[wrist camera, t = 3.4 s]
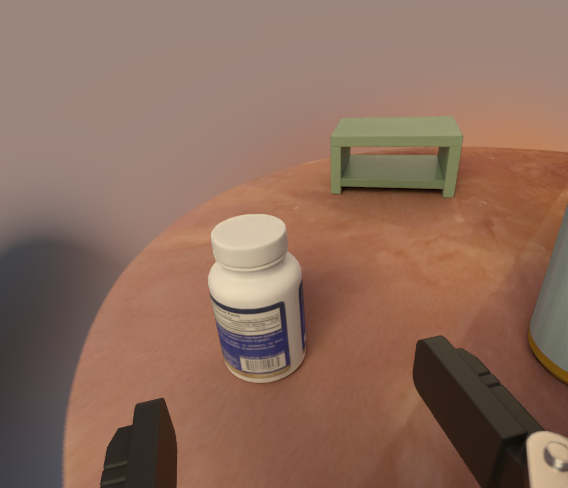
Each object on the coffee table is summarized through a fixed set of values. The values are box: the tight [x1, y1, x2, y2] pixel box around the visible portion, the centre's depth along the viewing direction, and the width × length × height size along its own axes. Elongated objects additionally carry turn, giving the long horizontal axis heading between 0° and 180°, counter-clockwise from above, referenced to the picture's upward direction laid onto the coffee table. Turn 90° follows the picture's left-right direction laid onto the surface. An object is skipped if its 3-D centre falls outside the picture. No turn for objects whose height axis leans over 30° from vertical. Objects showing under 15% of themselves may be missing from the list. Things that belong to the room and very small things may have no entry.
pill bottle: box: [208, 214, 306, 383], centre depth 22 cm, size 5×5×9 cm
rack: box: [331, 116, 463, 198], centre depth 48 cm, size 14×10×7 cm
